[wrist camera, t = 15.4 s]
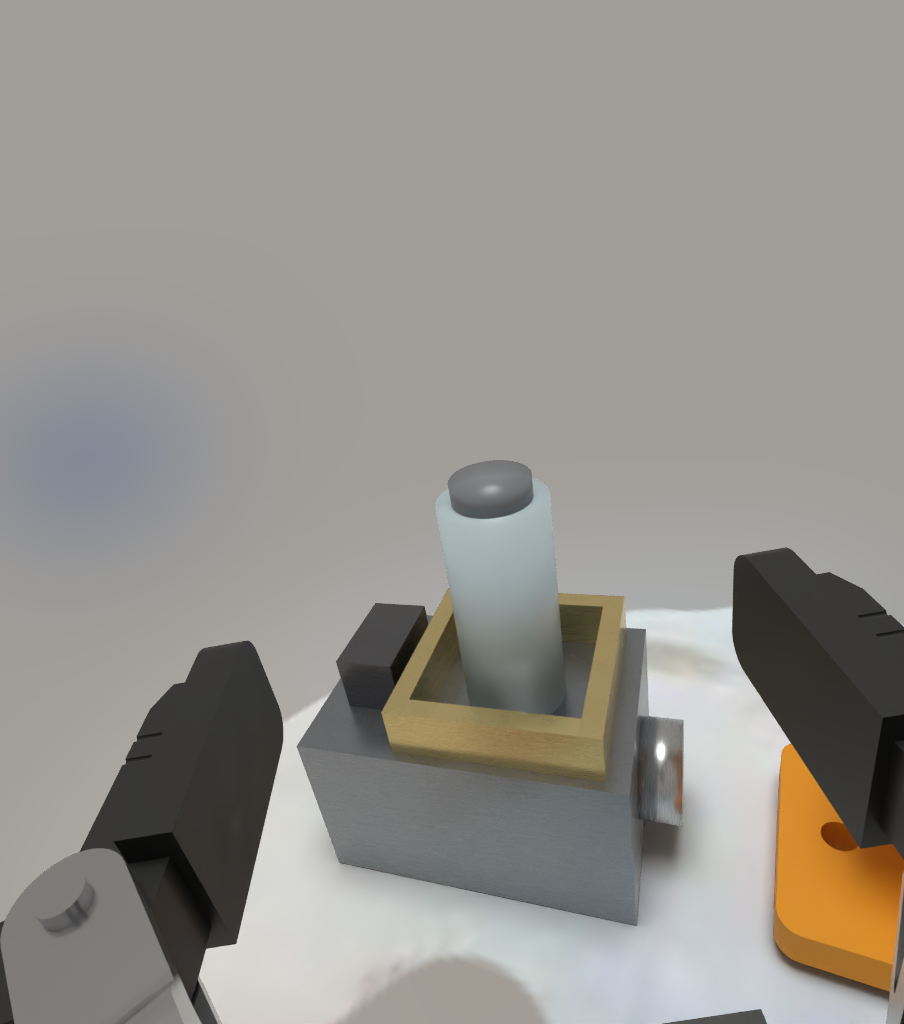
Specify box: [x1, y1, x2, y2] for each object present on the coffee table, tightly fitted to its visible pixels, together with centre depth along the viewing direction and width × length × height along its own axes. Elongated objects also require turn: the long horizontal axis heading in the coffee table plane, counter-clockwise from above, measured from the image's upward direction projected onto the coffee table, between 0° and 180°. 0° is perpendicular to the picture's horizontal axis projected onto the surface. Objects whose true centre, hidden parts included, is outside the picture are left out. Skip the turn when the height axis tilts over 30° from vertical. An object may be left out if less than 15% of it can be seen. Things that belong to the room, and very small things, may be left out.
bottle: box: [435, 460, 566, 715], centre depth 31 cm, size 5×5×12 cm
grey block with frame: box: [297, 588, 684, 926], centre depth 36 cm, size 18×11×12 cm, turn 72°
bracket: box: [773, 744, 904, 992], centre depth 29 cm, size 11×7×12 cm
